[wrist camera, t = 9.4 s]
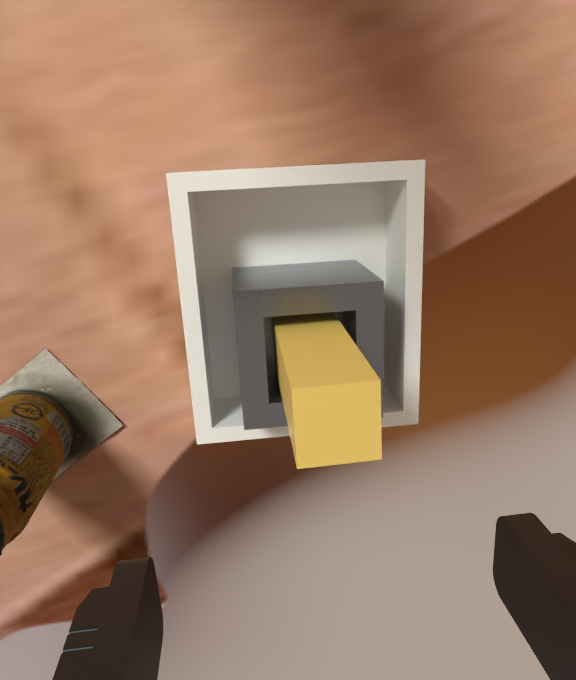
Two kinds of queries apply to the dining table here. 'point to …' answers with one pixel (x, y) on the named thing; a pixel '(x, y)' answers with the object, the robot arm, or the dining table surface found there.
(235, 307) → the socket
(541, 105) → the dining table surface
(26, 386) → the condiment
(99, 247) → the dining table surface
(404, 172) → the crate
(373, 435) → the plug
